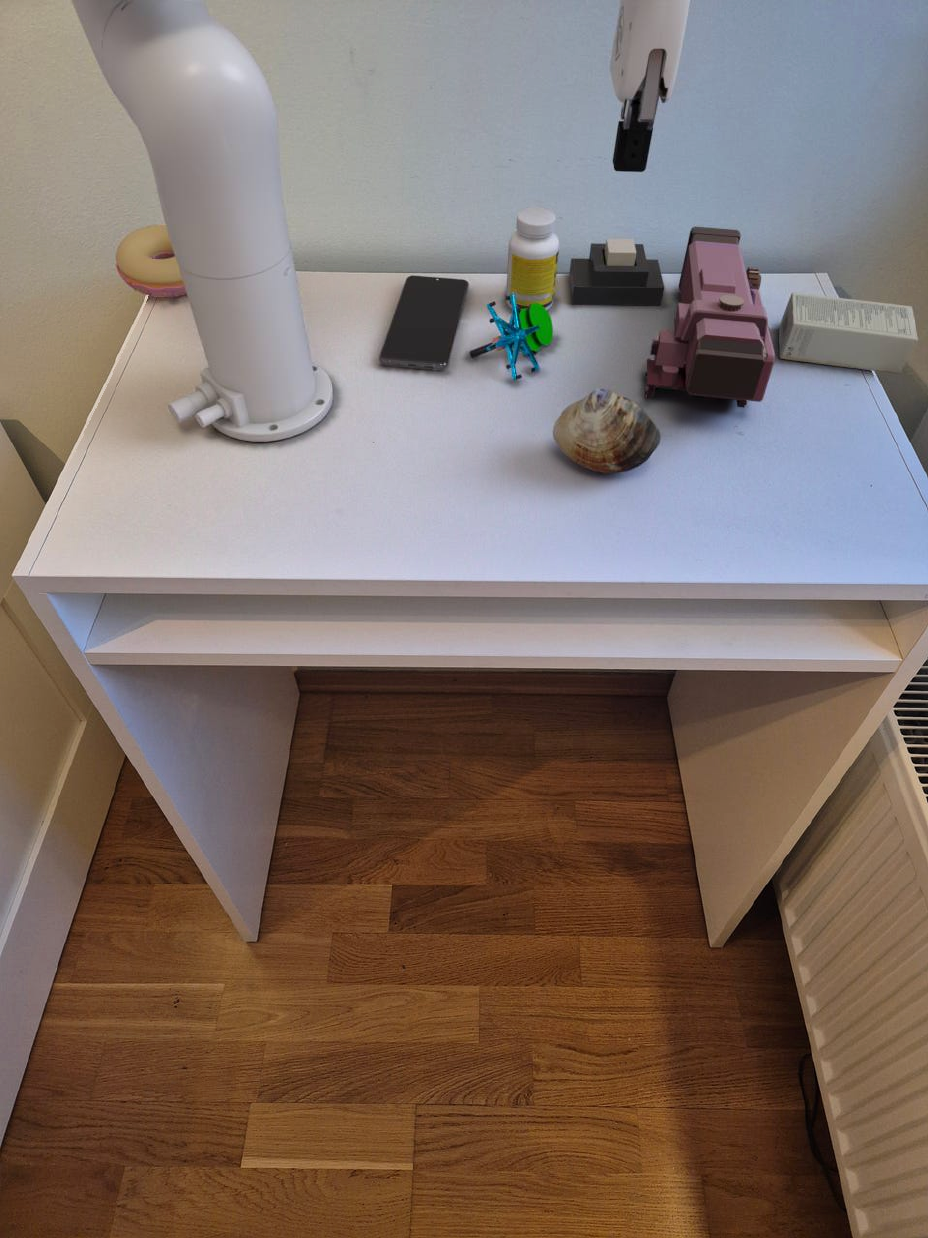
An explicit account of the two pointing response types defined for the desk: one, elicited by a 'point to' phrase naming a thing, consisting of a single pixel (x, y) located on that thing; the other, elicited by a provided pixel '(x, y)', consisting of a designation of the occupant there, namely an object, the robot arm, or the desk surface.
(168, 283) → the doughnut
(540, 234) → the supplement bottle
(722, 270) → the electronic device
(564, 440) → the seashell
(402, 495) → the desk surface
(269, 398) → the robot arm
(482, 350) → the stick construction toy
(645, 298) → the dark gray block frame
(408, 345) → the smartphone
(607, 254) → the key back
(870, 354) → the cosmetic box
